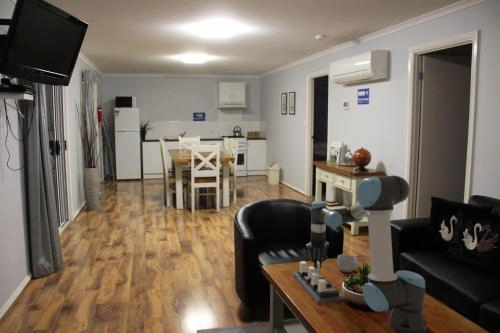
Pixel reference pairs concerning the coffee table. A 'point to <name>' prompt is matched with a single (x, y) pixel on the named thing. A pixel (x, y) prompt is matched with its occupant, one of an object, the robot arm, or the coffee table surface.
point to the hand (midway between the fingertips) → (317, 273)
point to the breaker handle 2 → (310, 271)
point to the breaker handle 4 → (321, 285)
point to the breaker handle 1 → (303, 266)
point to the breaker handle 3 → (314, 278)
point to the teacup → (347, 262)
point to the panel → (313, 293)
